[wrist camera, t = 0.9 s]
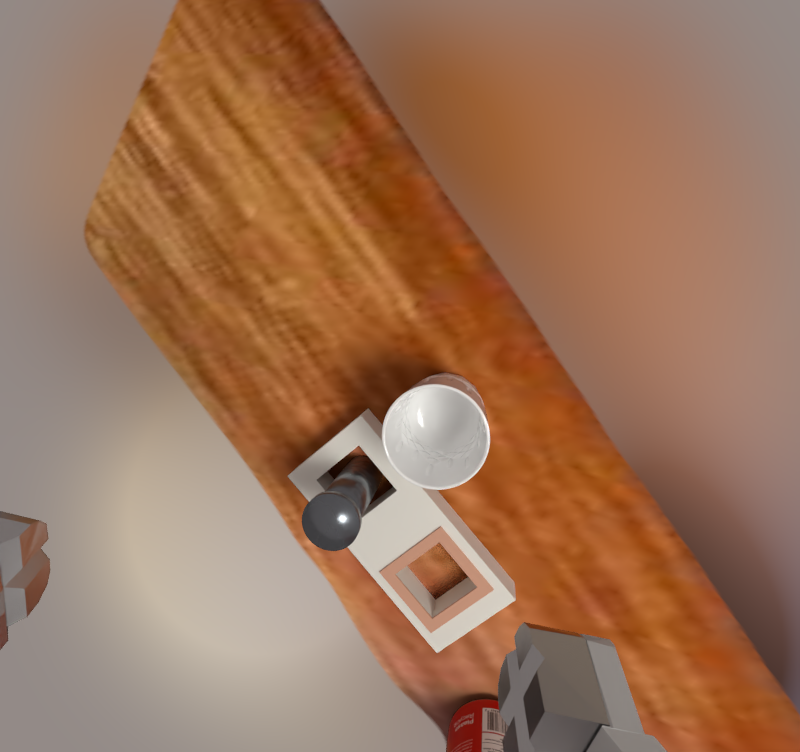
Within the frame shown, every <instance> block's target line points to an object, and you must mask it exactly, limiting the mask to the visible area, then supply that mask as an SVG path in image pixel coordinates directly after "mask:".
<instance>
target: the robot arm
mask: <svg viewBox="0 0 800 752" xmlns="http://www.w3.org/2000/svg"><path fill="white" fill-rule="evenodd" d="M47 540H48V532H47V524H46V523H44V522H41V521H39V520H35V519H31V518H27V517H22V516H18V515H14V514H10V513H6V512H1V511H0V650H1V648H2V647H3V646H4V645H5V643H6V642H7V641H8V626H10V625H12V624H14V623H16V622H18V621H20V620H22V619H24V618H26V617H27V616H28V615H29V614H30V612H31V611H32V610H33V609H34V607H35V606H36V605H37V603H38V602H39V600H40V598H41V596H42V594H43V592H44V590H45V588H46V586H47V583H48V579H49V574H50V559H49V558H48V557H47V555H46V554H45V553H44V552H43V550H42V549H41V547H42V546H43V544H44V543H45V542H46V541H47ZM515 645H516V650H514V651H512V652H510V653H509V654H507V655H506V657H505V660H504V662H503V665H502V667H501V672H500V678H499V683H498V703H499V714H500V715H501V716H502V718H503V719H504V721H505V722H506V724H507V725H508V729H507V731H506V734H505V736H504V738H503V740H502V743H503V752H667V751H666V750H665V748H664V747H663V746H662V745H661V744H660V743H659V742H658V741H657V739H656V738H655V737H654V736H651V735H647V734H645V733H644V731H643V728H642V725H641V722H640V719H639V716H638V713H637V710H636V707H635V704H634V701H633V698H632V695H631V692H630V690H629V687H628V684H627V681H626V678H625V675H624V672H623V669H622V666H621V663H620V660H619V657H618V654H617V651H616V649H615V646H614V644H613V643H612V642H611V641H610V640H609V639H604V638H599V637H594V636H589V635H584V634H578V633H575V632H570V631H565V630H560V629H555V628H550V627H545V626H540V625H535V624H530V623H525V622H524V623H523V624H522V625H521V626H520V627H519V628H518V631H517V633H516V635H515Z"/></svg>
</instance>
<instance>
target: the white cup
mask: <svg viewBox="0 0 800 752" xmlns="http://www.w3.org/2000/svg"><path fill="white" fill-rule="evenodd" d="M382 444H383V448H384V452H385V455H386V457H387V459H388V461H389V463H390V464H391V466H392V467H393V468H394V470H395V471H396V472H397V473H398V474H399V475H400V476H401V477H403V478H404V479H405V480H407V481H408V482H410V483H412V484H414V485H416V486H419V487H422V488H426V489H433V490H443V489H449V488H453V487H456V486H459V485H461V484H463V483H465V482H466V481H468V480H469V479H471V478H472V477H473V476H474V475H475V474H476V473H477V472H478V471H479V470H480V468H481V467H482V465H483V464H484V462H485V460H486V457H487V454H488V451H489V446H490V431H489V425H488V419H487V414H486V410H485V406H484V403H483V401H482V398H481V397H480V395H479V393H478V391H477V389H476V387H475V386H474V385H473V384H471V383H470V382H469V381H468V380H466V379H465V378H464V377H462V376H459V375H455V374H450V373H446V372H444V373H440V374H436V375H431V376H428V377H427V378H425V379H423V380H421V381H420V382H418V383H416V384H415V385H413V386H412V387H411V388H410V389H408V390H407V391H406V392H405V393H404V394H402V395H401V396H400V397H399V398H397V399H396V401H395V402H394V403H393V404H392V405H391V407H390V408H389V410H388V412H387V414H386V416H385V419H384V422H383V427H382Z"/></svg>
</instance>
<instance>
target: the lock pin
mask: <svg viewBox="0 0 800 752" xmlns="http://www.w3.org/2000/svg"><path fill="white" fill-rule="evenodd" d="M382 477H383V473H382V472H381V471H380V470H379V469H378V467H377V466H376V465H375V464H374V463H373V461H372V460H371V459H370V458H369V457H368V456H357V457H355V458H353V459H352V460H350V461H349V463H348V464H347V465H346V466H345V468H344V469H343V470H342V471H341V472H340V474H339V475H338V476H337V477H336V479H335V480H334V481H333V482H332V483H331V485H330V486H329V487H328V488H327V490H326V491H325V492H322V493H319V494H317V495H316V496H315V497H314V498H312V500H311V501H310V502H309V503H308V504H307V506H306V507H305V509H304V511H303V515H302V525H303V529H304V532H305V534H306V536H307V537H308V538H309V540H310V541H311V542H312V543H313V544H315V545H316V546H318V547H320V548H322V549H324V550H329V551H337V550H342V549H344V548H346V547H348V546H349V545H351V544H352V543H353V542H354V540H355V539H356V537H357V535H358V533H359V531H360V529H361V524H362V516H363V514H364V512H365V510H366V509H367V507H368V505H369V503H370V501H371V500H372V498H373V496H374V494H375V493H376V491H377V489H378V487H379V486H380V484H381V482H382Z"/></svg>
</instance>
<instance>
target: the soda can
mask: <svg viewBox="0 0 800 752" xmlns="http://www.w3.org/2000/svg"><path fill="white" fill-rule="evenodd" d="M507 729H508V725H507V724H506V722H505V721H504V719H503V718H502V716H501V715H500V714H499V703H498V701H497V700H491V699H479V700H474V701H471V702H469V703H467V704H465V705H463V706H462V707H460V708H459V709H458V710H457V711H456V712H455V714H454V715H453V717H452V719H451V721H450V725H449V729H448V738H447V748H446V752H503V743H502V740H503V738H504V736H505V734H506V731H507Z"/></svg>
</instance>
